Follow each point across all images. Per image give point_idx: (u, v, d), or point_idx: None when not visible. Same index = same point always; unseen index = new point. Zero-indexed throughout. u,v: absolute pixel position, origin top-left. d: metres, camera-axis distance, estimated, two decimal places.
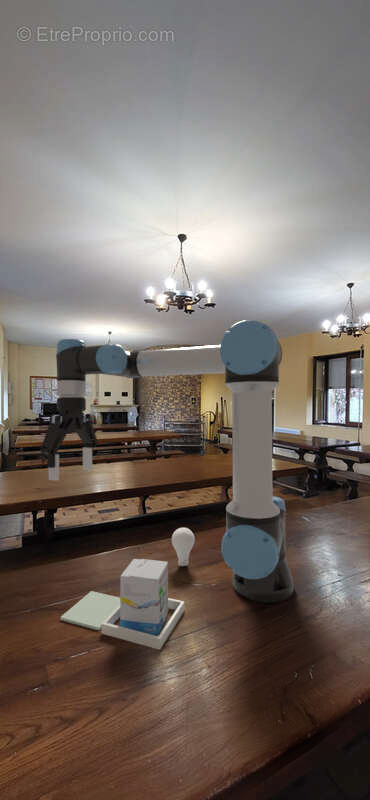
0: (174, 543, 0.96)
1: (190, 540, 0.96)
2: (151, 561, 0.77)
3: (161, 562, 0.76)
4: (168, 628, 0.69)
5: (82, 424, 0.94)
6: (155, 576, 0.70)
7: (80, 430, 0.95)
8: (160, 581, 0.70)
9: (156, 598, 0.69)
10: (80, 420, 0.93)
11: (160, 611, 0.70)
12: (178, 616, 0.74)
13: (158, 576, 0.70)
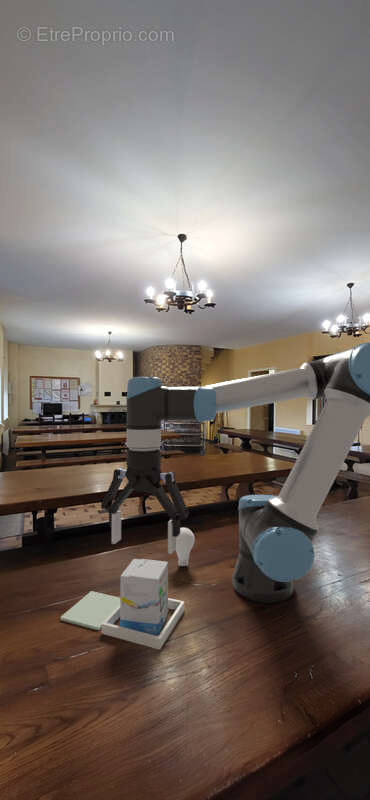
0: None
1: (190, 540, 0.96)
2: (151, 561, 0.77)
3: (161, 562, 0.76)
4: (168, 628, 0.69)
5: (150, 486, 0.71)
6: (155, 576, 0.70)
7: None
8: (160, 581, 0.70)
9: (156, 598, 0.69)
10: (144, 480, 0.72)
11: (160, 611, 0.70)
12: (178, 616, 0.74)
13: (158, 576, 0.70)
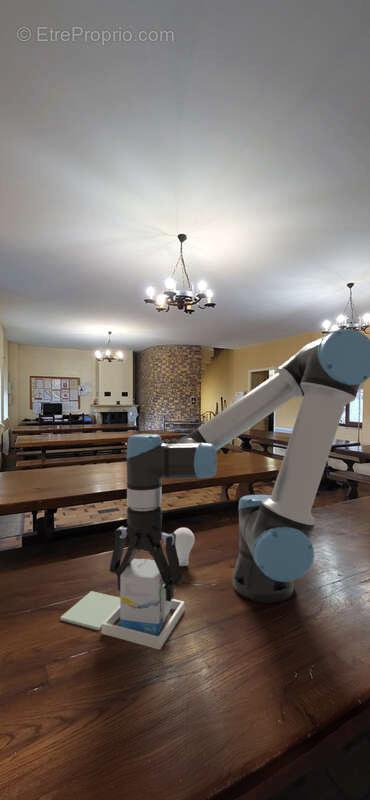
0: None
1: (190, 540, 0.96)
2: (151, 561, 0.77)
3: None
4: (168, 628, 0.69)
5: (150, 546, 0.71)
6: (155, 576, 0.70)
7: None
8: (160, 581, 0.70)
9: (156, 598, 0.69)
10: (145, 539, 0.71)
11: (160, 611, 0.70)
12: (178, 616, 0.74)
13: (158, 576, 0.70)
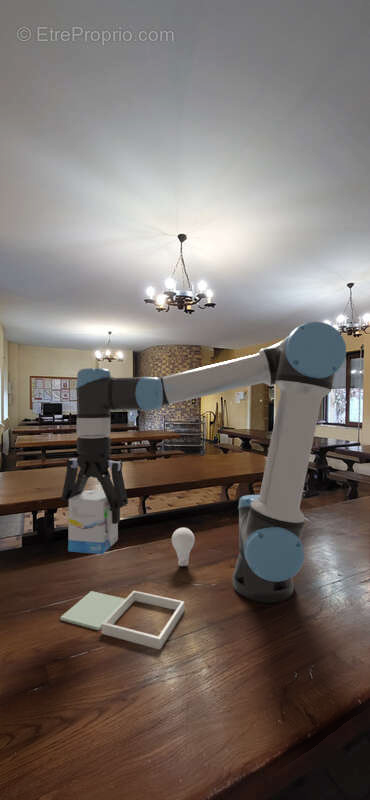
0: (174, 543, 0.96)
1: (190, 540, 0.96)
2: (102, 491, 0.81)
3: None
4: (168, 628, 0.69)
5: (97, 472, 0.76)
6: (101, 499, 0.74)
7: None
8: (106, 504, 0.75)
9: (101, 518, 0.73)
10: (93, 466, 0.76)
11: (106, 532, 0.74)
12: (178, 616, 0.74)
13: (104, 499, 0.74)
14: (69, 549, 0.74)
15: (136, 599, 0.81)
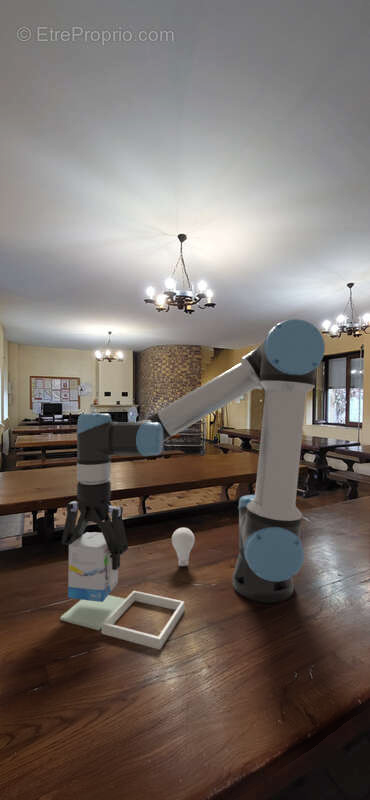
0: (174, 543, 0.96)
1: (190, 540, 0.96)
2: (102, 534, 0.81)
3: None
4: (168, 628, 0.69)
5: (97, 518, 0.76)
6: (101, 546, 0.74)
7: None
8: (106, 550, 0.74)
9: (101, 566, 0.73)
10: (93, 512, 0.76)
11: (106, 579, 0.74)
12: (178, 616, 0.74)
13: (104, 546, 0.74)
14: (69, 596, 0.74)
15: (136, 599, 0.81)
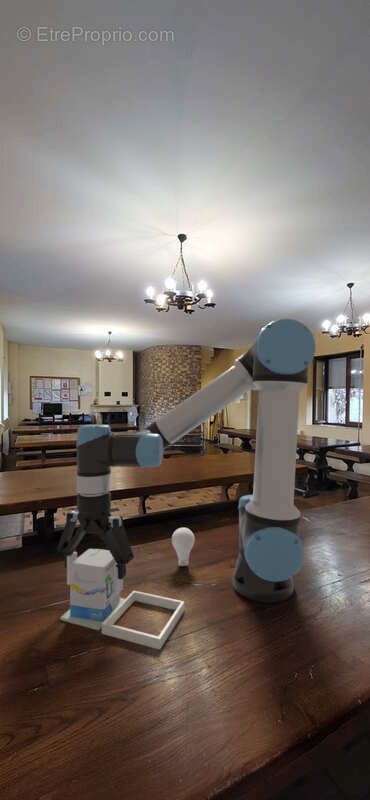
0: (174, 543, 0.96)
1: (190, 540, 0.96)
2: (104, 551, 0.81)
3: None
4: (168, 628, 0.69)
5: (98, 529, 0.75)
6: (102, 565, 0.74)
7: None
8: (107, 569, 0.74)
9: (102, 585, 0.73)
10: (93, 524, 0.76)
11: (107, 598, 0.74)
12: (178, 616, 0.74)
13: (105, 564, 0.74)
14: (71, 614, 0.74)
15: (136, 599, 0.81)
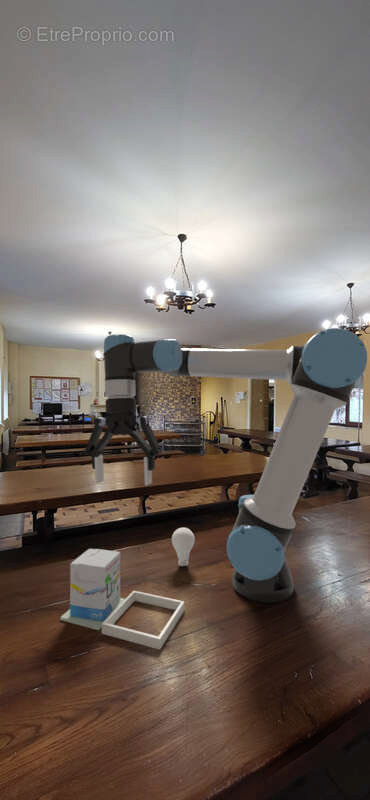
0: (174, 543, 0.96)
1: (190, 540, 0.96)
2: (104, 551, 0.81)
3: (113, 552, 0.80)
4: (168, 628, 0.69)
5: (127, 428, 0.82)
6: (102, 565, 0.74)
7: None
8: (107, 569, 0.74)
9: (102, 585, 0.73)
10: (122, 424, 0.83)
11: (107, 598, 0.74)
12: (178, 616, 0.74)
13: (105, 564, 0.74)
14: (71, 614, 0.74)
15: (136, 599, 0.81)
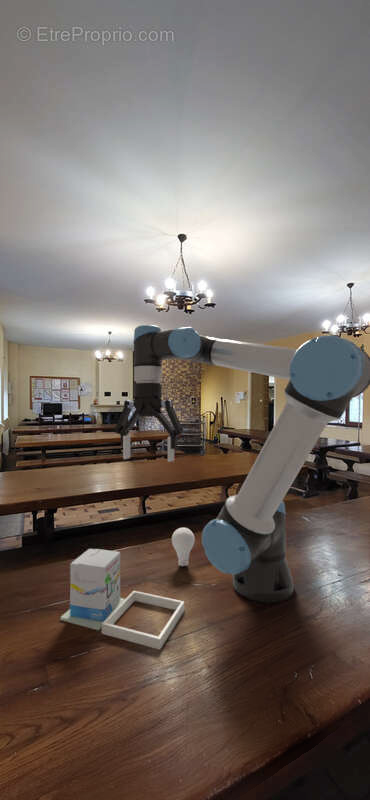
0: (174, 543, 0.96)
1: (190, 540, 0.96)
2: (104, 551, 0.81)
3: (113, 552, 0.80)
4: (168, 628, 0.69)
5: (153, 410, 0.91)
6: (102, 565, 0.74)
7: None
8: (107, 569, 0.74)
9: (102, 585, 0.73)
10: (148, 406, 0.91)
11: (107, 598, 0.74)
12: (178, 616, 0.74)
13: (105, 564, 0.74)
14: (71, 614, 0.74)
15: (136, 599, 0.81)
